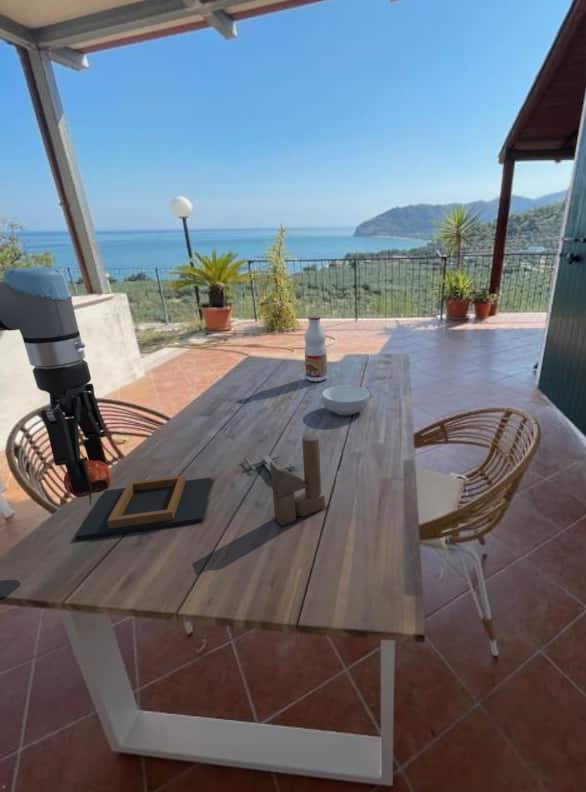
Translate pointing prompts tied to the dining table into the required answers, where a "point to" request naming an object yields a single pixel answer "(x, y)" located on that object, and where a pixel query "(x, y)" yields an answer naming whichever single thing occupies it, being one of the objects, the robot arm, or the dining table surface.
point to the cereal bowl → (345, 399)
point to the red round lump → (92, 478)
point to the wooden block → (298, 485)
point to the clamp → (267, 463)
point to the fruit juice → (315, 349)
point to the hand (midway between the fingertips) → (91, 479)
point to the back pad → (147, 506)
